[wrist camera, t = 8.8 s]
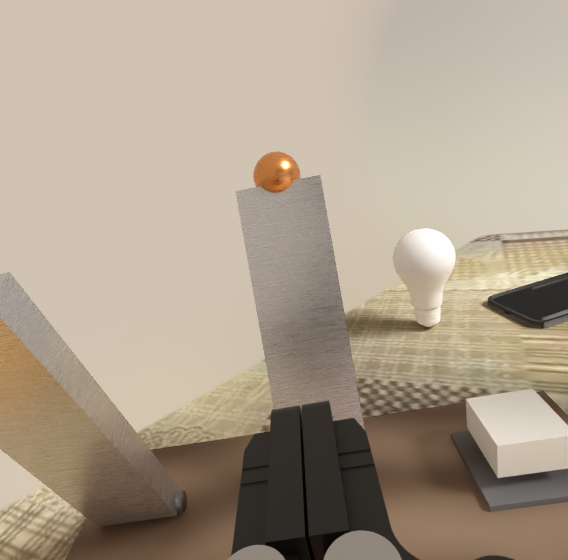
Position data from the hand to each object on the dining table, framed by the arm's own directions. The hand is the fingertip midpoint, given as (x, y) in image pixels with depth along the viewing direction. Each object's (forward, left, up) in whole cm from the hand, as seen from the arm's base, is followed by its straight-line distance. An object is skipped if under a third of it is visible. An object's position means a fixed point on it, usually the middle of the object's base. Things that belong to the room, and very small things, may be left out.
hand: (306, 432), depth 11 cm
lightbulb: (-34, -8, -16) cm, 38 cm away
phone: (-44, +4, -16) cm, 47 cm away
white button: (-15, +3, -13) cm, 20 cm away
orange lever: (-9, -6, -13) cm, 17 cm away
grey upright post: (-2, -16, -13) cm, 21 cm away
